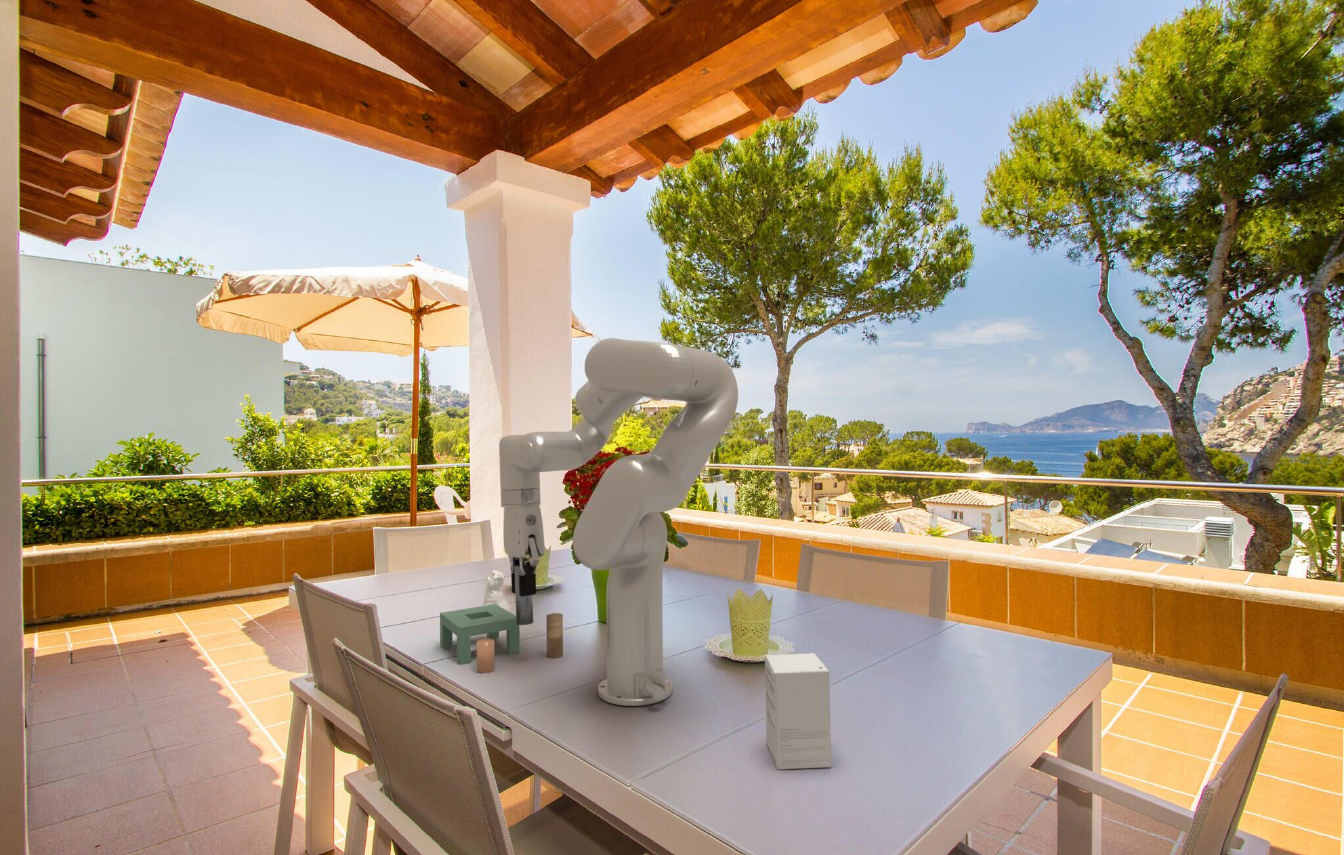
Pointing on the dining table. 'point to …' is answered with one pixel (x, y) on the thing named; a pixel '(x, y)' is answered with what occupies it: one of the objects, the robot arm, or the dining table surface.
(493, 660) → the short pin
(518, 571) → the long pin
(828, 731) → the supplement box
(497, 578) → the white creature statuette
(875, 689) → the dining table surface
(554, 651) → the medium pin
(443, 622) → the hole bridge
